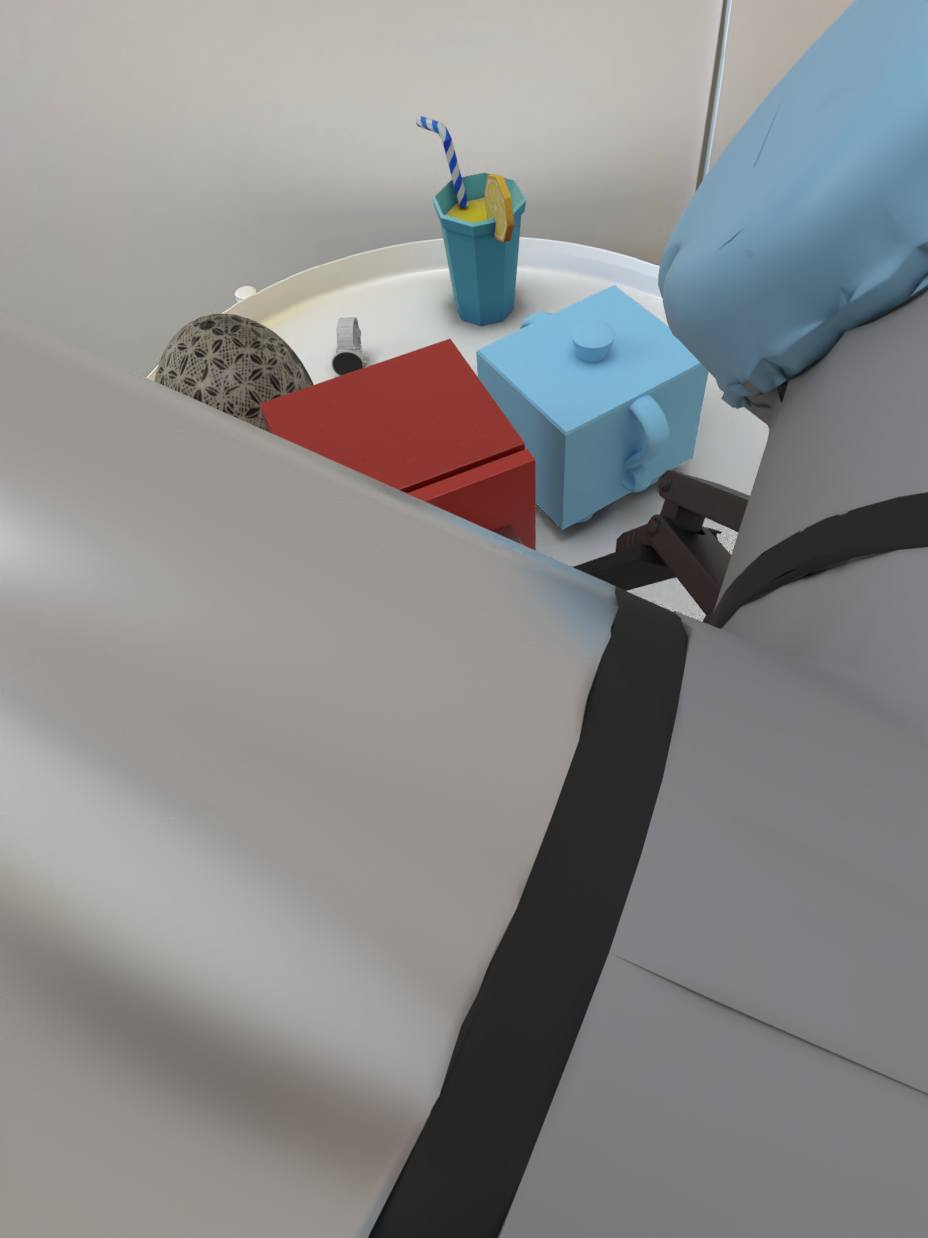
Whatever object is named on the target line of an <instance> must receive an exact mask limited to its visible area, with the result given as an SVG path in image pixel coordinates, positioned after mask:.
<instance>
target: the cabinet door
mask: <svg viewBox="0 0 928 1238" xmlns="http://www.w3.org/2000/svg"><path fill="white" fill-rule="evenodd" d="M407 494H409V495H411V496H414V497H416V498H418V499H420V500H423V501H425V502H427V503H429V504H432V505H434V506H436V507H438V508H441V509H443V510H445V511H447V512H450V513H452V514H454V515H456V516H459V517H461V518H463V519H465V520H468V521H470V522H472V523H474V524H477V525H479V526H481V527H483V528H486V529H488V530H490V531H492V532H495V533H497V534H499V535H501V536H504V537H506V538H508V539H510V540H513V541H515V542H517V543H519V544H522V545H524V546H526V547H528V548H531V549H533V550H535V551H537V550H536V548H537V547H536V542H537V541H536V537H537V535H536V531H537V529H536V528H537V527H536V525H537V523H536V521H537V520H536V516H537V514H536V513H537V511H536V509H537V507H536V506H537V504H536V460H535V458H534V457H533V455H532V454H531V453H530V451H529V450H528V449H525V450H522V451H519V452H517V453H514V454H511V455H509V456H506V457H503V458H501V459H498V460H495V461H493V462H490V463H487V464H484V465H482V466H479V467H476V468H474V469H471V470H468V471H466V472H463V473H460V474H458V475H455V476H452V477H450V478H447V479H444V480H441V481H439V482H436V483H433V484H431V485H428V486H425V487H423V488H420V489H417V490H415V491H412V492H409V493H407Z"/></svg>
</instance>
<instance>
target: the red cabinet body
mask: <svg viewBox="0 0 928 1238" xmlns="http://www.w3.org/2000/svg"><path fill="white" fill-rule="evenodd" d="M259 405H260V408H261V412H262V415H263V417H264V421H265V425H266V428H267V431H268V432H269V433H272V434H274V435H276V436H278V437H281V438H283V439H285V440H287V441H290V442H292V443H294V444H296V445H299V446H301V447H303V448H305V449H308V450H310V451H312V452H314V453H317V454H319V455H321V456H323V457H326V458H328V459H330V460H332V461H335V462H337V463H339V464H341V465H344V466H346V467H348V468H350V469H353V470H355V471H357V472H360V473H362V474H364V475H366V476H369V477H371V478H373V479H375V480H378V481H380V482H382V483H384V484H387V485H389V486H391V487H393V488H396V489H398V490H400V491H402V492H405V493H409V492H412V491H415V490H417V489H420V488H423V487H425V486H428V485H431V484H433V483H436V482H439V481H441V480H444V479H447V478H450V477H452V476H455V475H458V474H460V473H463V472H466V471H468V470H471V469H474V468H476V467H479V466H482V465H484V464H487V463H490V462H493V461H495V460H498V459H501V458H503V457H506V456H509V455H511V454H514V453H517V452H519V451H522V450H525V442H524V441H523V440H522V438H521V437H520V435H519V434H518V433H517V431H516V430H515V428H514V427H513V426H512V424H511V423H510V421H509V420H508V419H507V417H506V416H505V414H504V413H503V412H502V410H501V409H500V407H499V406H498V405H497V403H496V402H495V400H494V399H493V398H492V396H491V395H490V393H489V392H488V391H487V389H486V388H485V386H484V385H483V384H482V382H481V381H480V379H479V378H478V374H476V373H475V371H474V369H473V367H471V365H470V364H469V362H468V361H467V360H466V358H465V357H464V356H463V353H461V352H460V350H459V348H458V347H457V346H456V344H455V342H453V340H452V339H451V338H447V339H444V340H441V341H439V342H438V341H437V342H436V343H433V344H429V345H426V346H423V347H421V348H417V349H415V350H412V351H409V352H406V353H403V354H401V355H397V356H394V357H392V358H388V359H386V360H383V361H379V362H377V363H373V364H371V365H367V366H364V368H362V369H359V370H356V371H353V372H350V373H347V374H344V375H341V376H339V375H338V376H336V377H333V378H330V379H326V380H324V381H321V382H318V383H315V384H314V385H312V386H309V387H306V388H303V389H300V390H297V391H295V392H292V393H289V394H286V395H283V396H280V397H277V398H274V399H271V400H268V401H265V402H262V403H260V404H259Z"/></svg>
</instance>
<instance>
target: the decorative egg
mask: <svg viewBox="0 0 928 1238" xmlns="http://www.w3.org/2000/svg"><path fill="white" fill-rule="evenodd" d="M154 381H155V382H157V383H159V384H161V385H164V386H166V387H168V388H170V389H173V390H175V391H177V392H179V393H182V394H184V395H186V396H188V397H191V398H193V399H195V400H197V401H200V402H202V403H204V404H206V405H209V406H211V407H213V408H215V409H218V410H220V411H222V412H224V413H227V414H229V415H231V416H233V417H236V418H238V419H240V420H242V421H245V422H247V423H249V424H251V425H254V426H256V427H258V428H260V429H263V430H265V431H267V428H266V425H265V421H264V417H263V415H262V412H261V408H260V405H259V404H260V403H262V402H265V401H268V400H271V399H274V398H277V397H280V396H283V395H286V394H289V393H292V392H295V391H297V390H300V389H303V388H306V387H309V386H312V385H315V384H314V382H313V380H312V377H311V375H310V374H309V373H308V370H307V368H306V367H305V365H304V363H303V361H302V360H301V359H300V357H299V356H298V354H297V353H296V352H295V351H294V349H293V348H292V347H291V346H290V345H289V344H288V343H287V342H286V341H285V340H284V339H283V338H282V337H281V336H279V334H277V333H276V332H275V331H273V330H272V329H270V328H269V327H267V326H266V325H264V324H262V323H259V322H258V321H256V320H254V319H252V318H248V317H245V316H241V315H238V314H234V313H233V314H232V313H213V314H208V315H204V316H199V317H198V318H196V319H194V320H192V321H190V322H188V323H187V324H185V325H184V326H183V327H181V328H180V330H178V332H177V333H176V334H174V336H173V337H172V338H171V339H170V340H169V342H168V343H167V345H166V347H165V349H164V350H163V352H162V354H161V357H160V360H159V362H158V365H157V368H156V371H155V377H154ZM267 432H268V431H267Z"/></svg>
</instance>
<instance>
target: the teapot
mask: <svg viewBox="0 0 928 1238" xmlns="http://www.w3.org/2000/svg"><path fill="white" fill-rule="evenodd" d="M475 354H476V355H475V357H476V373H477V377H478V378H479V379H480V381H481V382H482V384H483V385H484V386H485V388H486V389H487V391H488V392H489V393H490V395H491V396H492V398H493V399H494V400H495V402H496V403H497V405H498V406H499V407H500V409H501V410H502V412H503V413H504V414H505V416H506V417H507V419H508V420H509V421H510V423H511V424H512V426H513V427H514V428H515V430H516V431H517V433H518V434H519V435H520V437H521V438H522V440H523V441H524V442H525V449H528V450H529V451H530V453H531V454H532V455H533V457H534V458H535V460H536V506H538V507H539V508H540V509H541V511H543V512H544V513H545V514H546V515H547V517H548V518H550V519H551V520H552V521H553V523H555V524H556V525H557V526H558V527H559V529H560V530H562V531H563V530H565V529H567V528H569V527H570V526H572V525H574V524H582V523H585V522H588V521H590V520H591V518H592V517H593V516H594V514H595V513H596V512H598V511H600V510H602V509H604V508H605V507H607V506H609V505H610V504H613V503H614V502H616V501H618V500H619V499H621V498H623V497H625V496H627V495H628V494H630V493H640V492H643V491H645V490H646V489H648V487H650V486H652V485H654V484H655V483H656V482H658V481H659V480H660V477H661V476H662V475H663V474H664V472H666V471H667V470H673V469H675V468H677V467H679V466H680V465H682V464H684V463H686V462H687V461H689V460H691V459H693V458H694V453H695V446H696V443H697V442H696V441H697V437H698V431H699V426H700V421H701V420H700V419H701V415H702V409H703V403H704V398H705V392H706V388H707V382H708V377H709V371H708V370H707V369H706V368H705V367H704V366H703V365H702V364H701V363H700V362H699V361H698V360H697V359H696V358H695V357H694V356H693V354H692V353H691V352H690V351H689V350H688V349H687V348H686V347H685V346H684V345H683V344H682V343H681V342H680V341H679V340H678V339H677V338H676V337H675V336H673V334H672V332H671V330H670V328H669V325H668V324H666V323H665V322H663V320H661V319H660V318H658V317H657V316H655V315H654V313H652V312H651V311H649V310H648V309H647V308H645V307H644V306H643V305H641V304H640V303H639V302H637V301H636V300H634V299H633V298H632V297H630V296H629V295H628V294H627V293H625V292H624V291H622V289H620V288H619V287H618V286H617V285H615V284H614V285H611V286H609V287H607V288H605V289H602V290H600V291H598V292H596V293H594V294H591V295H589V296H587V297H585V298H583V299H581V300H578V301H577V302H575V303H572V304H570V305H568V306H566V307H563V308H562V309H559V310H558V311H555V312H553V313H551V312H548V311H537V312H534V313H532V314H530V315H528V316H527V317H526V318H524V319H523V321H522V322H521V323H520V325H519V329H518V330H516V331H514V332H512V333H510V334H508V335H505V336H503V337H501V338H499V339H497V340H495V341H493V342H491V343H489V344H486V345H485V346H483V347H481V348H479V349H478V350H477V351H476V352H475Z"/></svg>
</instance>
